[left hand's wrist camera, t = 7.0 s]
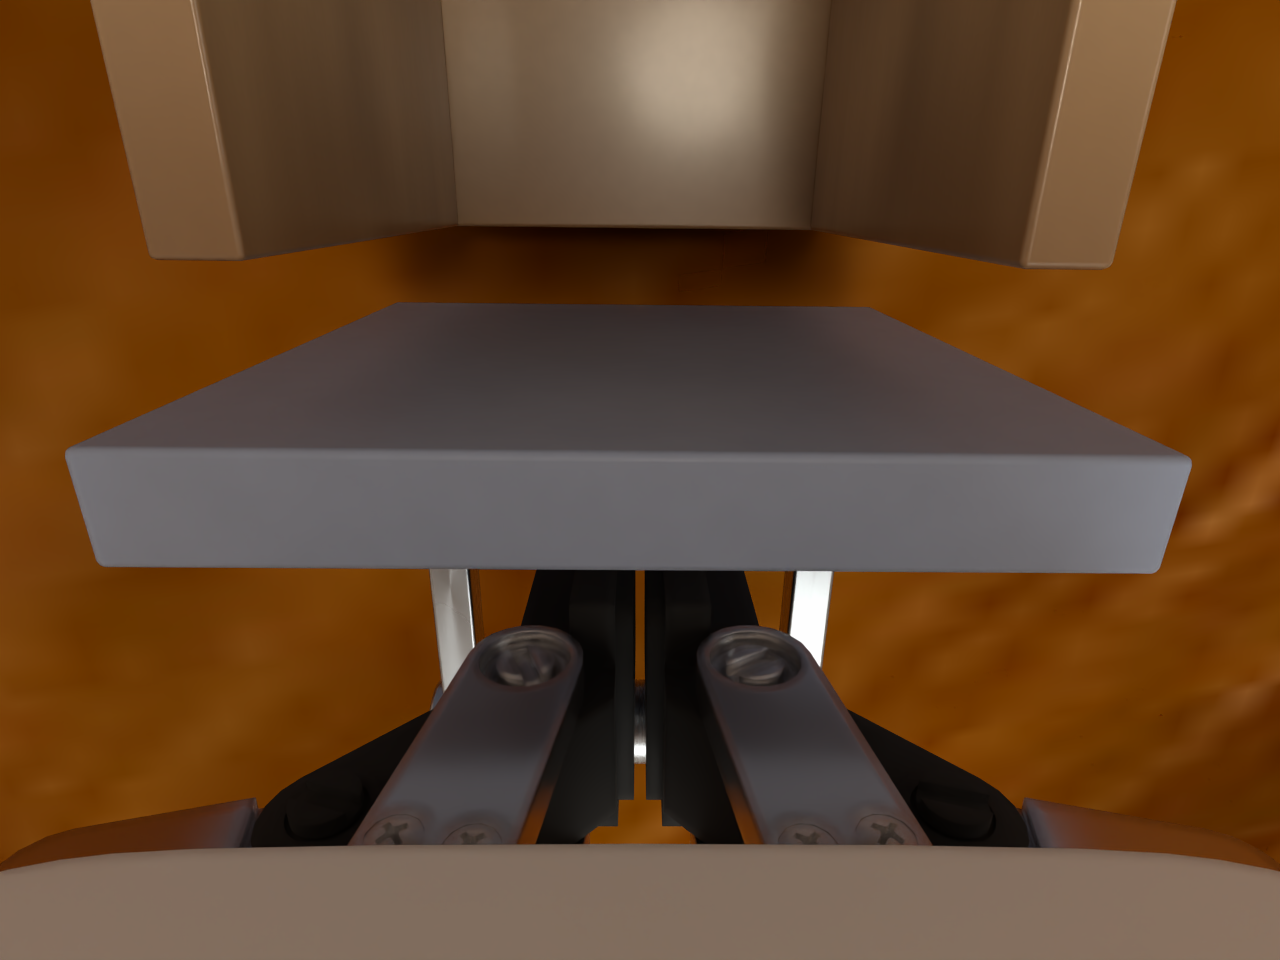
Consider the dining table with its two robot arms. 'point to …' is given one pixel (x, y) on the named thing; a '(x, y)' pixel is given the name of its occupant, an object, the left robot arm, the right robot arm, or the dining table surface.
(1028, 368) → the dining table surface
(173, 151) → the drawer
